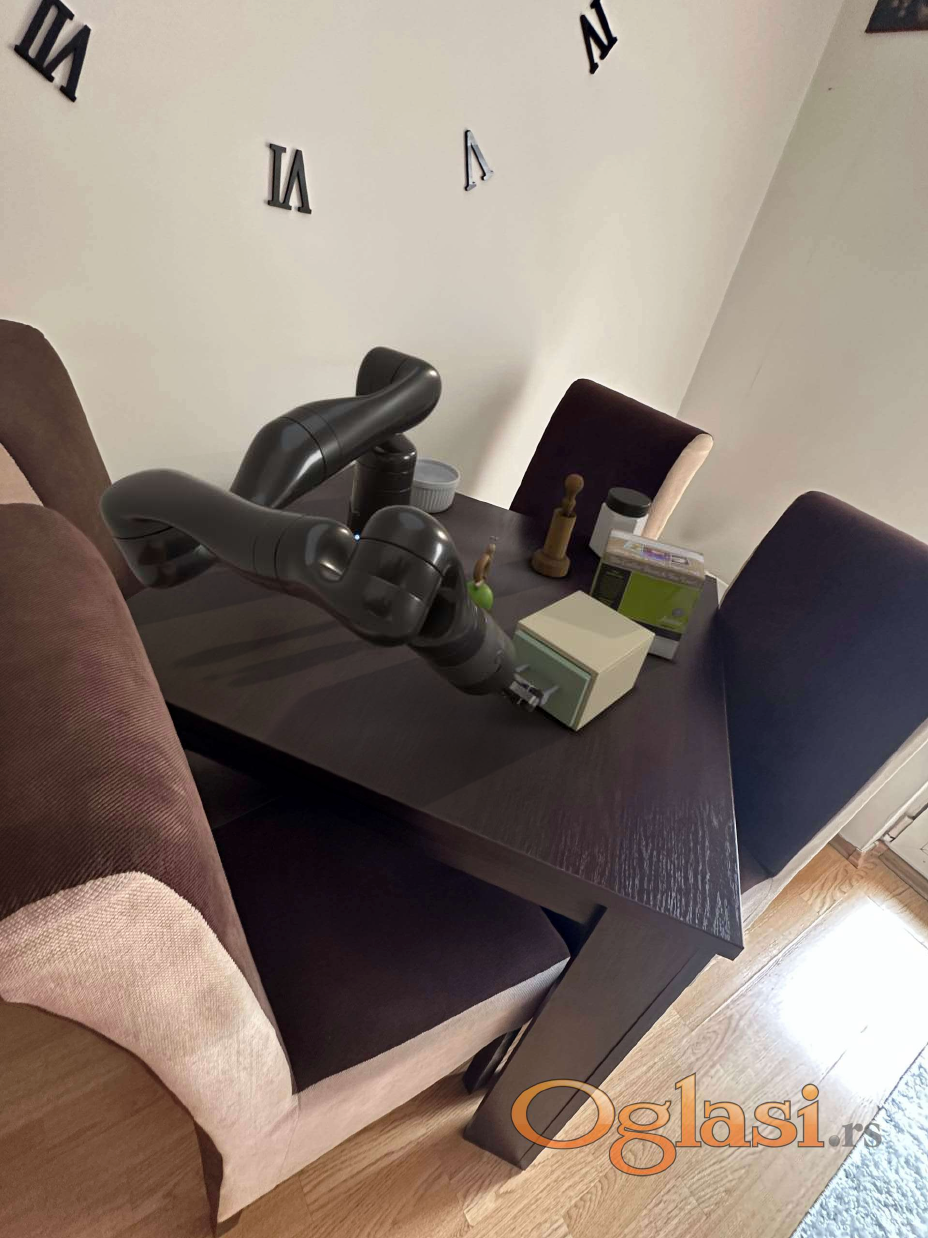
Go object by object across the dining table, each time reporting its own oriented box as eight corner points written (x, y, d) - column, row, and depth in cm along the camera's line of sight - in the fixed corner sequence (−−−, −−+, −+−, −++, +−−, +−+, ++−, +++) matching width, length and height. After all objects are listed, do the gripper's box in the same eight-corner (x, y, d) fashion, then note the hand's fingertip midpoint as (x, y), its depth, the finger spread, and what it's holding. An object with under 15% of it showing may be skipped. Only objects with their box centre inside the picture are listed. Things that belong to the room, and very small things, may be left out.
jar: (603, 537, 134) (622, 483, 128) (638, 554, 130) (659, 499, 124) (581, 548, 128) (600, 492, 121) (617, 566, 124) (638, 509, 118)
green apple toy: (495, 607, 104) (512, 541, 97) (483, 627, 98) (500, 558, 92) (463, 596, 104) (478, 530, 98) (449, 615, 99) (464, 546, 93)
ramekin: (382, 506, 127) (386, 472, 123) (398, 482, 138) (403, 451, 134) (447, 522, 126) (454, 489, 122) (459, 497, 137) (465, 466, 133)
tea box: (672, 629, 108) (706, 552, 100) (671, 662, 100) (708, 580, 92) (584, 602, 110) (611, 524, 102) (576, 632, 102) (605, 549, 94)
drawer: (549, 742, 79) (567, 693, 75) (480, 691, 84) (493, 643, 80) (622, 686, 91) (641, 642, 87) (557, 645, 96) (572, 601, 92)
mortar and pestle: (566, 563, 121) (594, 473, 111) (567, 580, 116) (597, 487, 106) (531, 556, 121) (557, 464, 111) (531, 572, 115) (557, 478, 106)
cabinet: (576, 731, 83) (598, 673, 78) (501, 678, 89) (518, 621, 84) (632, 687, 93) (655, 633, 87) (561, 643, 99) (579, 590, 94)
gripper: (397, 643, 66) (456, 689, 81) (494, 716, 60) (539, 751, 75) (441, 585, 67) (492, 641, 82) (542, 651, 60) (577, 698, 75)
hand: (515, 693), depth 78 cm, fingers closed
